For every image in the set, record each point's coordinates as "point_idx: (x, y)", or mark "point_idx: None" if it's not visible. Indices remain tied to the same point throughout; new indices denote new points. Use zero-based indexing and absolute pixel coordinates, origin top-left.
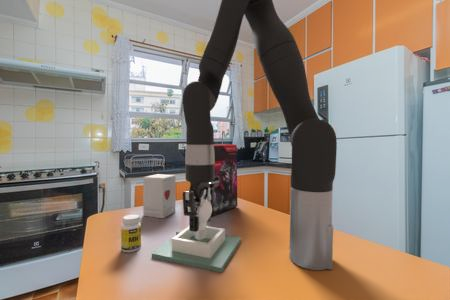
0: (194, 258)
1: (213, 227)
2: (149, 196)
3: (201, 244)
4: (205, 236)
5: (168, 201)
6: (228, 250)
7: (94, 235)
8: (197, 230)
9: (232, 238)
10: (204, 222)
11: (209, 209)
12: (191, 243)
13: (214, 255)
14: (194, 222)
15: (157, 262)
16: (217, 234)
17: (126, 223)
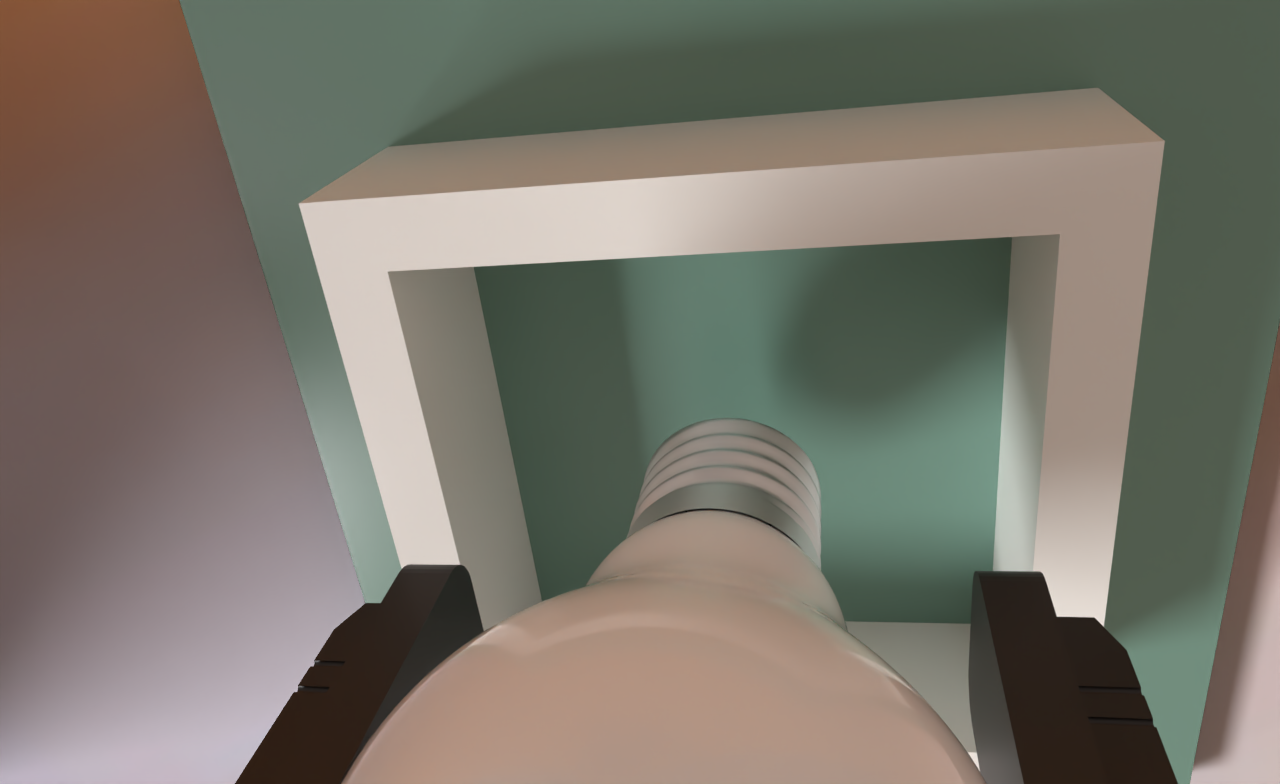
0: (1175, 312)
1: (371, 433)
2: None
3: (1139, 325)
4: (504, 461)
5: None
6: None
7: None
8: (1039, 574)
9: (277, 43)
10: (783, 591)
11: (715, 770)
12: (1112, 499)
13: (985, 63)
14: (1165, 764)
15: (1259, 680)
16: (612, 234)
17: None
